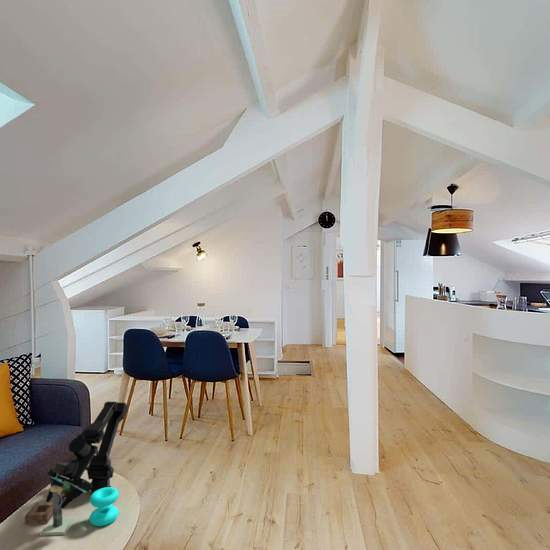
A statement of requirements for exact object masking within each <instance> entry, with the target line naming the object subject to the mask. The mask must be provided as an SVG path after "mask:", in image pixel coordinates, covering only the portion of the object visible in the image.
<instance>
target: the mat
mask: <svg viewBox="0 0 550 550" xmlns="http://www.w3.org/2000/svg"><path fill="white" fill-rule="evenodd" d="M62 520H63V524H62V525H61V526H60V527H56V528H55V527H53V517H52V518H51V519H50V520H49V522H48V523H46V525H45V526H44V527H43V529H42V530H41V531H40V532H39V535H40V537H42V536H64V535H65V533H67V531H68V530H69V528H70V526H71V525H72V523H73V522H74V521H75V517H62Z"/></svg>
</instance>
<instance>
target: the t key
mask: <svg viewBox="0 0 550 550" xmlns="http://www.w3.org/2000/svg"><path fill="white" fill-rule="evenodd" d="M49 489H50V491H51V492H53V498H52V502H53V516H52V518H53V527H55V528H56V527H60V526H61V525H62V524H63V520H62V518H63V508H61V505H62V503H63V498H62V495H63V494H64V493H65V489H64V488H62V487H59V486H57V485H52V486H51V487H50V486H49Z"/></svg>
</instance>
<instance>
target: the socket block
mask: <svg viewBox="0 0 550 550" xmlns="http://www.w3.org/2000/svg"><path fill="white" fill-rule="evenodd" d="M52 518H53V501H51V502H50V501H49V502H46V501H45V502H36V503H35V504H34V505H33V506H32V507H31V508H30V509H29V510H28V511H27V512H26V514H25V515H24V524H25V525H27V524H28V525H29V524H31V525H32V524H48V522H49V521H50V520H51V519H52Z"/></svg>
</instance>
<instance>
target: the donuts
mask: <svg viewBox="0 0 550 550" xmlns="http://www.w3.org/2000/svg"><path fill="white" fill-rule="evenodd" d="M119 495H120V493H119V490H118V489H117V488H116V487H112V486H111V487H105V488H101V489H99V490H97V491H95V492H94V493H93V494H92V495H91V496H90V497H89V502H90V504H91V506H93V507H94V508H95V509H94V510H93V511H92V512H91V513H90V515H89V522H90V524H91V525H93V526H95V527H103V526H107V525H110V524H112V523H113V522H114V521H116V519H117V518H118V516H119V508H118V507H117V506H115V505H113V504H114V503H115V502H116V501H117V500H118V498H119Z"/></svg>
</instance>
